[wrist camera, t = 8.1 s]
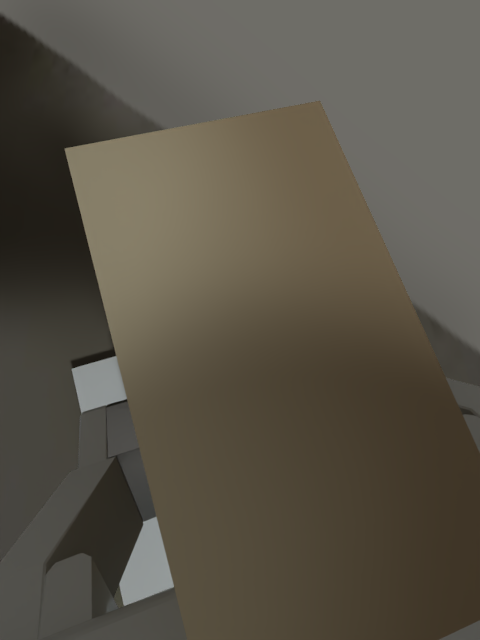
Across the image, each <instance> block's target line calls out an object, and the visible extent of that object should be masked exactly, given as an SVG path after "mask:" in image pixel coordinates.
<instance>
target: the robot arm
mask: <svg viewBox="0 0 480 640" xmlns="http://www.w3.org/2000/svg"><path fill="white" fill-rule="evenodd" d="M446 380H447V382H448V384H449V386H450V388H451V391H452V393H453V395H454V397H455V399H456V402H457V404H458V406H459V408H460V410H461V413H462V415H463V417H464V419H465V421H466V424H467V426H468V428H469V430H470V432H471V435H472V437H473V439H474V441H475V443H476V446H477V448H478V450H479V452H480V387H479V386H475V385H471V384H467V383H463V382H460V381H456V380H452V379H448V378H446ZM154 517H156V513H155V509H154V505H153V501H152V497H151V493H150V489H149V485H148V481H147V477H146V473H145V469H144V465H143V461H142V457H141V453H140V449H139V445H138V441H137V437H136V433H135V429H134V425H133V421H132V417H131V413H130V409H129V405H128V401H127V399H125V400H122V401H118V402H115V403H111V404H108V405H107V406H106V405H104V406H101V407H98V408H94V409H91V410H88V411H84V412H82V414H81V416H80V431H79V452H78V469H75V470H72V471H70V472H69V473H68V475H67V476H66V477H65V479H64V480H63V481H62V483H61V484H60V485H59V486H58V488H57V489H56V490H55V492H54V493H53V494H52V496H51V497H50V498H49V499H48V501H47V502H46V503H45V505H44V506H43V507H42V509H41V510H40V511H39V512H38V514H37V515H36V516H35V518H34V519H33V520H32V522H31V523H30V524H29V525H28V527H27V528H26V529H25V531H24V532H23V533H22V535H21V536H20V537H19V538H18V540H17V541H16V542H15V544H14V545H13V546H12V548H11V549H10V550H9V551H8V553H7V554H6V555H5V557H4V558H3V559H2V561H1V562H0V640H187V637H186V633H185V629H184V625H183V621H182V617H181V613H180V609H179V605H178V601H177V597H176V593H175V589H174V587H172V588H169V589H167V590H164V591H162V592H159V593H156V594H154V595H151V596H149V597H146V598H144V599H141V600H139V601H136V602H134V603H131V604H128V605H126V606H123V607H121V608H118V606H117V604H116V602H115V600H114V599H113V598H114V595H115V593H116V590H117V588H118V586H119V583H120V581H121V578H122V576H123V573H124V571H125V568H126V566H127V564H128V561H129V559H130V556H131V554H132V551H133V549H134V547H135V544H136V542H137V539H138V537H139V534H140V532H141V529H142V527H143V525H144V524H143V522H144V521H147V520H149V519H152V518H154ZM439 640H480V620H479V621H477V622H475V623H473V624H471V625H469V626H467V627H465V628H462V629H460V630H458V631H456V632H454V633H452V634H450V635H448V636H446V637H443V638H441V639H439Z"/></svg>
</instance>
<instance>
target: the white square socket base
mask: <svg viewBox="0 0 480 640" xmlns="http://www.w3.org/2000/svg"><path fill="white" fill-rule="evenodd" d="M72 373H73V377H74V382H75V386H76V391H77V395H78V400H79V404H80V409H81V413H82V412H84V411H88V410H91V409H94V408H98V407H101V406H104V405H106V406H107V405H108V404H111V403H115V402H118V401H122V400H125V399H127V397H126V393H125V389H124V385H123V381H122V377H121V373H120V369H119V365H118V361H117V357H116V356H115V357H111V358H108V359H104V360H101V361H97V362H93V363H90V364H86V365H83V366H79V367H76V368H72ZM143 524H144V525H143V527H142V529H141V532H140V534H139V537H138V539H137V542H136V544H135V547H134V549H133V551H132V554H131V556H130V559H129V561H128V564H127V566H126V568H125V571H124V573H123V576H122V578H121V581H120V583H119V585H120V590H121V594H122V599H123V603H124V606H125V605H128V604H130V603H133V602H135V601H138V600H141V599H143V598H146V597H148V596H151V595H153V594H156V593H158V592H161V591H163V590H166V589H168V588H171V587H174V585H173V581H172V577H171V573H170V569H169V565H168V561H167V557H166V553H165V549H164V545H163V541H162V537H161V533H160V529H159V525H158V521H157V517H154V518H152V519H149V520H147V521H144V522H143Z"/></svg>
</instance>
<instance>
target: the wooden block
mask: <svg viewBox="0 0 480 640" xmlns="http://www.w3.org/2000/svg"><path fill="white" fill-rule="evenodd" d="M64 149H65V153H66V157H67V161H68V165H69V169H70V173H71V177H72V181H73V185H74V189H75V193H76V197H77V201H78V205H79V209H80V213H81V217H82V221H83V225H84V229H85V233H86V237H87V241H88V245H89V249H90V253H91V257H92V261H93V265H94V269H95V273H96V277H97V281H98V285H99V289H100V293H101V297H102V301H103V305H104V309H105V313H106V317H107V321H108V325H109V329H110V333H111V337H112V341H113V345H114V349H115V353H116V357H117V361H118V365H119V369H120V373H121V377H122V381H123V385H124V389H125V393H126V397H127V401H128V405H129V409H130V413H131V417H132V421H133V425H134V429H135V433H136V437H137V441H138V445H139V449H140V453H141V457H142V461H143V465H144V469H145V473H146V477H147V481H148V485H149V489H150V493H151V497H152V501H153V505H154V509H155V513H156V517H157V521H158V525H159V529H160V533H161V537H162V541H163V545H164V549H165V553H166V557H167V561H168V565H169V569H170V573H171V577H172V581H173V585H174V589H175V593H176V597H177V601H178V605H179V609H180V613H181V617H182V621H183V625H184V629H185V633H186V637H187V640H439V639H441V638H443V637H446V636H448V635H450V634H452V633H454V632H456V631H458V630H460V629H462V628H465V627H467V626H469V625H471V624H473V623H475V622H477V621H479V620H480V452H479V450H478V448H477V446H476V443H475V441H474V439H473V437H472V435H471V432H470V430H469V428H468V426H467V424H466V421H465V419H464V417H463V415H462V413H461V410H460V408H459V406H458V404H457V402H456V399H455V397H454V395H453V393H452V391H451V388H450V386H449V384H448V382H447V380H446V377H445V375H444V373H443V371H442V369H441V366H440V364H439V362H438V360H437V358H436V355H435V353H434V351H433V349H432V347H431V344H430V342H429V340H428V338H427V336H426V333H425V331H424V329H423V327H422V325H421V322H420V320H419V318H418V316H417V314H416V311H415V309H414V307H413V305H412V303H411V300H410V298H409V296H408V294H407V292H406V289H405V287H404V285H403V283H402V280H401V278H400V276H399V274H398V272H397V269H396V267H395V265H394V263H393V261H392V258H391V256H390V254H389V252H388V250H387V248H386V245H385V243H384V241H383V239H382V237H381V234H380V232H379V230H378V228H377V225H376V223H375V221H374V219H373V217H372V214H371V212H370V210H369V208H368V206H367V203H366V201H365V199H364V197H363V195H362V193H361V190H360V188H359V186H358V184H357V181H356V179H355V177H354V175H353V173H352V170H351V168H350V166H349V164H348V162H347V159H346V157H345V155H344V153H343V151H342V148H341V146H340V144H339V142H338V140H337V138H336V135H335V133H334V131H333V129H332V126H331V124H330V122H329V120H328V118H327V115H326V114H325V111H324V109H323V107H322V104H321V103H320V101H316V102H311V103H305V104H300V105H295V106H289V107H284V108H279V109H273V110H269V111H263V112H258V113H252V114H247V115H241V116H236V117H230V118H225V119H220V120H215V121H209V122H204V123H198V124H194V125H188V126H182V127H177V128H172V129H166V130H161V131H155V132H150V133H145V134H139V135H134V136H129V137H123V138H118V139H113V140H107V141H102V142H97V143H91V144H86V145H81V146H75V147H70V148H64Z"/></svg>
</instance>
